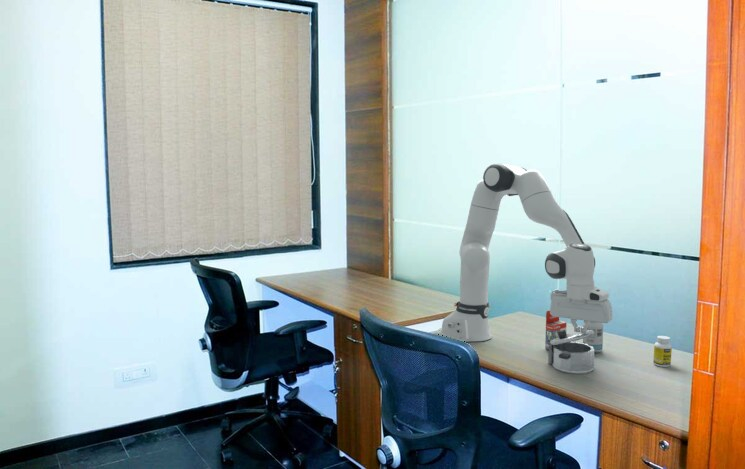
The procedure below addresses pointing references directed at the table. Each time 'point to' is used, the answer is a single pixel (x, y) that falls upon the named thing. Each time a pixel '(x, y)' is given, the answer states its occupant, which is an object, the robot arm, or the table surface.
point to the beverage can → (595, 336)
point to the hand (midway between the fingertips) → (580, 332)
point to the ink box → (553, 328)
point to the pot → (572, 357)
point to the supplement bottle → (662, 351)
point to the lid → (569, 337)
